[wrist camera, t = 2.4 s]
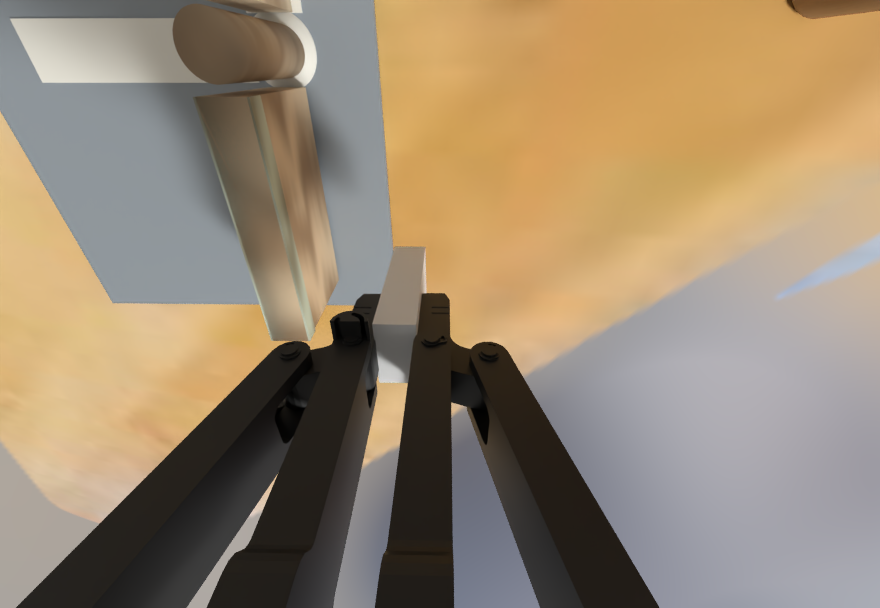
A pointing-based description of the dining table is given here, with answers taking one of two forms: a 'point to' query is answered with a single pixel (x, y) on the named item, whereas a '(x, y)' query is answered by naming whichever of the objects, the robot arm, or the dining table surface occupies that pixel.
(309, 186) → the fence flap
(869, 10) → the wooden toy
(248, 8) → the beige wooden panel
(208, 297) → the card
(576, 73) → the dining table surface
